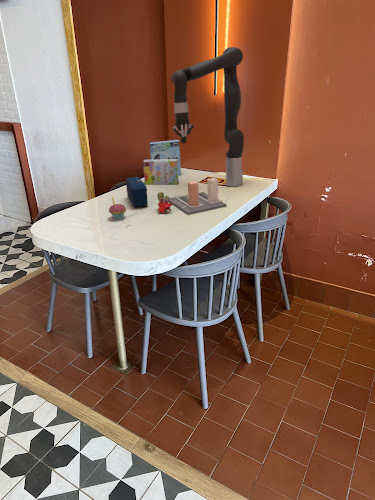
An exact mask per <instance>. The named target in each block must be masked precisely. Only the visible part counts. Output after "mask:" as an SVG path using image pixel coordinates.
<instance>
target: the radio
mask: <svg viewBox="0 0 375 500" xmlns="http://www.w3.org/2000/svg"><path fill="white" fill-rule="evenodd" d="M125 186H126V194H127V199H128V200H129V202H130V204H131V205H132V206H133V208H134V209H137V208H142V207H147V206H148V204H149V203H148V202H149V201H148V188H147V185H145V182H144V181H142V179H141V178H140V177H139V176H137V175H135V176H133V177H127V178H126V179H125Z"/></svg>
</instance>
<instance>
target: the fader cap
mask: <svg viewBox="0 0 375 500" xmlns="http://www.w3.org/2000/svg"><path fill="white" fill-rule="evenodd" d="M198 192H199V183H198V182H197V181H188V182H187V195H188V205H190V206H196V205H199V195H198Z"/></svg>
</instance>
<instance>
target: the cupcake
mask: <svg viewBox="0 0 375 500" xmlns="http://www.w3.org/2000/svg"><path fill="white" fill-rule="evenodd" d="M111 200H112V203H113V204H112V205H111V206H110V207H109V208H108V213H110V214H111V216H112V218H113V220H118V221H119V220H123V219H124V216H125V213H126V212H127V207H126V206H125V205H124V204H122V203H115V199H114V197H113V196H111Z"/></svg>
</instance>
